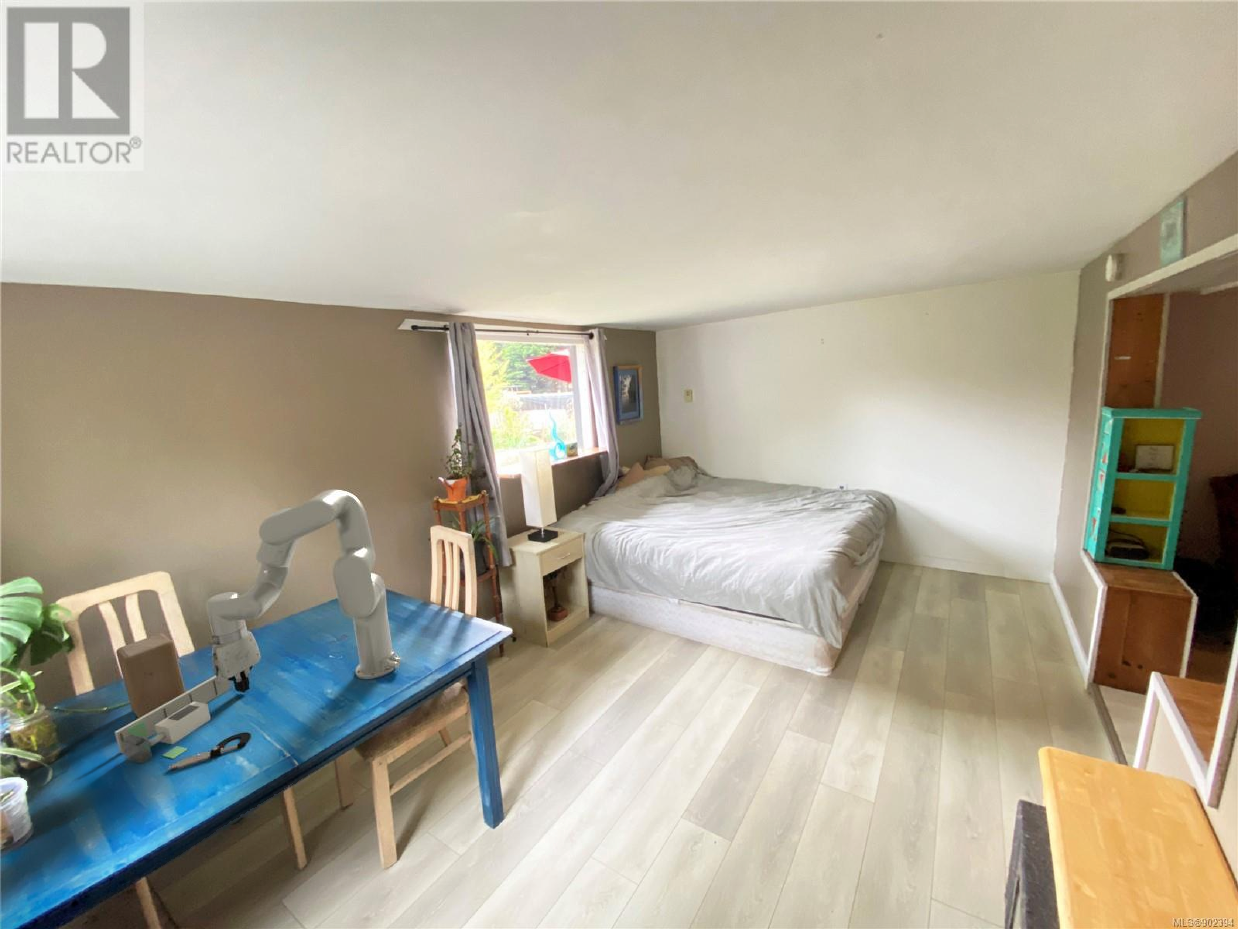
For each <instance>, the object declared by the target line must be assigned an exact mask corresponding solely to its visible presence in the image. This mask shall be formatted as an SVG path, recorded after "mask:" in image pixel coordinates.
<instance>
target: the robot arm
mask: <svg viewBox="0 0 1238 929" xmlns="http://www.w3.org/2000/svg"><path fill="white" fill-rule="evenodd" d="M334 521H335V523H336V530H337V537H338V540H339V546H340V555H339V556H338V557H337V559H336V560H335V562H334V564H333V567H332V568H333V570H332V576H333V582H334V586H335V590H336V591H335V592H336V594H337V599H338V603H339V607H340V610H341V612H342V613H343V614H344V615H345V616H346V617H348V618H350V619H352V621H353V629H354V633H355V634H354V635H355V639H356V640H355V641H356V648H357V652H358V658H359V659H358V660H359V664H358V665H357V666H356V667H355V675H356V677H357V678H359V679H362V680H373V679H377V678H380V677H382V676H385V675H388V674H389V673H392V671H394V670H395V669H399V667H400V665H401V664H400V663H401V662H402V661H403V659H402V657H399V656H400V655H398V654H397V653H396V651H394V650H393V645H392V644H393V643H392V638H391V629H390V625H389V624H390V622H389V615H388V607H387V591H386V585H385V581H384V579H383V578H382V577H381V576H380V575H379V574H377V573H374V572H372V569H373V567H374V566H375V563H376V559H377V556H376V550H375V547H374V543H373V538H372V533H371V529H370V526H369V521H368V516H367V512H366V510H365V506H364V505H363V503H362V502H361V501H360V499H358V497H356V496H355V495H354V494H352V493H350V492H348V491H344V490H343V489H327V490H324V491H321V492H320V493H318V494H317V495H315V496H314V497H312V498H311V499H309V500H308V501H306V502H304V503H302V504H299V505H297V506H294V507H292V508H289V507H287V508H282V509H280V510H278V511H276V512H274V513H273V514H272V515H270V516H268V517H266V518H265V519H263V521H262V522H261V524H260V526H259V530H258V534H259V535H258V536H259V538H260V539H261V543H260V545H259V548H258V550H257V552H256V555H255V559H256V561H257V562H258V563H260V564H261V566H260V570H259V573H258V575H257V578H256V580H255V582H254V584H253V586H252V587H250V588H249V590H247V591H246V592H244V593H243V594H241V595H239V593H238V592H234V591H228V592H227V591H226V592H223V593H219V594H217V595H214V596H211V597H209V599H208V600H207V601H206V602H205V610H206V612H207V617H208V622H209V626H210V630H211V633H212V636H211V637H212V638H211V640H209V641H208V644H209V646H212V651H211V652H212V653H211V657H212V658H211V660H212V666H213V667H212V668H213V672H214V676H217V677H218V683H225V682H227V681H229V680H230V682H231V681H232V682H233V685H234V689H235V690H234V691H237V692H238V693H245V692H247V691H249V690H250V689H251V688H250V679H249V677H250V675H251V673H250V672H251V670H252V669H253V667H254V666H255V665H257V664H258V663H259V661H260V660H261V652H260V649H259V646H258V644H257V641H256V638H255V636H254V635H253V633H252V632H251V631H250V630H248V629H247V623H246V621H249V620H250V621H252V620H255V619H258V618H260V617H262V616H263V614H264V613H266V611H267V610H268V609H269V608H270V607H271V606H272V605H273V604H274V603H275V602H276V601H277V599H278V598H279V597H280V594H281V592H282V590H283V588H284V586H285V583H286V581H287V578H288V576H289V572H290V567H291V561H292V559H293V556H294V554H295V551H296V549H297V547H298V544H299V542H300V540H301V538H303V537H305V536H308V535H310V534H312V533H314V532H317V531H320V530H321V529H324V528H326V527H328V526H329V525H331V524H332V523H333V522H334Z"/></svg>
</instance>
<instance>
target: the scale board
mask: <svg viewBox="0 0 1238 929" xmlns="http://www.w3.org/2000/svg"><path fill="white" fill-rule="evenodd" d="M232 687H233V686H232V683H231V681H230V680H229V681H227V682H225V683H218V677H217V676H216V675H214V676H212V677H210V678H209V679H207V680H204V681H203V682H201V683H200V684H198V685H196V686H195V687H193V688H190V689H188V690H186V691H185V693H183V694H182V695H180V696H178V697H176V698H175V699H173V700H171V701H169V702H167V703H166V704H164V705H162V706H160V707H158V708H157V709H155V710H153V711H151V712H149V713H148V714H146V715H144V716H142V717H141V718H137V719H136V720H134V721H131V722H130V723H128V724H126V725H125V726H123V727H121V728H119V729H118V730H115V731H114V736H115V739H116V743H117V745H118V746H117V747H118V748H119V753H120V754H125V752H124V748H123V745H122V741H123V740H122V739H124V738H126V737H128V736H129V735H134V736H138V737H141V738H144V739H146V740H148V739H149V738H151V737H153V736H154V735H157V733H156V729H155V725H156V724H157V723H159V722H161V721H162V720H164V719H166V718H167V717H169V716H171V715H172V714H174V713H176V712H177V711H179V710H181V709H182V708H184V707H186V706H187V705H189V704H191V703H192V702H199V703H205V704H208V703H209V702H211V701H212V700H214V699H216V698H217V697H220V696H221V695H223V694H224V693H226V692H228V691H229V690H232Z"/></svg>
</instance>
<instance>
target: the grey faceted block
mask: <svg viewBox="0 0 1238 929" xmlns="http://www.w3.org/2000/svg"><path fill="white" fill-rule="evenodd" d="M122 740H123V741H122V745H123V748H124V754H125V758H126V760H127V761H128V760H129V761H130V762H131V761H132V762H135V763H137V764H141V765H142V764H145V763H146V762H148V761H149V760H151V759H152V758H153V754H152V751H151V750H152V749H151V747H150V746H149V742H148V741H149V740H148V739H144V738H141V737H138V736H134V735H129V736H128V737H126V738H124V739H122Z"/></svg>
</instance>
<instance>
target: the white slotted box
mask: <svg viewBox="0 0 1238 929" xmlns="http://www.w3.org/2000/svg"><path fill="white" fill-rule="evenodd" d="M210 720H211V714H210V711H209V706H208V703H206V704H205V703H199V702H192V703H191V704H189V705H187V706H186V707H184V708H182V709H181V710H179V711H177V712H176V713H174V714H172V715H171V716H169V717H167V718H166V719H164V720H162V721H161V722H159V723H157V724H156V725H155V729H156V735H155V736H154V737H152V738H150V739H149V740H148V742H149V746H150V748H151V747H153V746H154V745H156V744H158V743H159V742H161V743H164V744H169V745H174V744H176V743H177V742H178V741H180V740H182V739H183V738H185V737H186V736H188V735H189V734H190V733H192V732H194V731H195V730H197V729H198V728H200V727H201V726H203V725H205V724H206V723H208V722H209V721H210Z"/></svg>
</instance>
